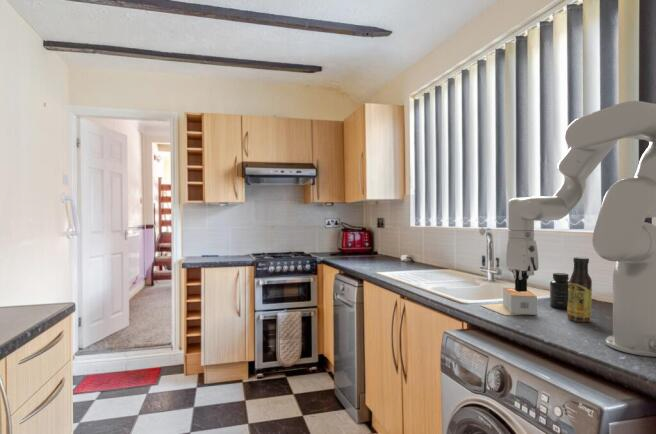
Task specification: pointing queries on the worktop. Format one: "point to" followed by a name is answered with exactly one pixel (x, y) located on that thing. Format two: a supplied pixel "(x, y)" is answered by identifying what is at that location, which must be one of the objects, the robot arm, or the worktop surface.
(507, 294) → the small box
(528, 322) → the worktop surface
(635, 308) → the robot arm
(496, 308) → the cork mat
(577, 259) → the sauce bottle
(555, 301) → the supplement bottle
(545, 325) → the worktop surface
